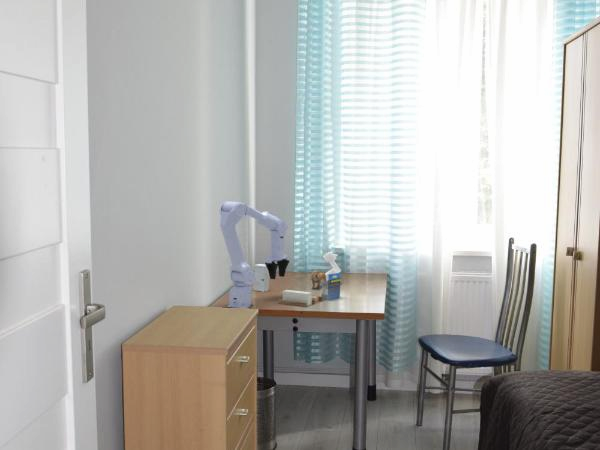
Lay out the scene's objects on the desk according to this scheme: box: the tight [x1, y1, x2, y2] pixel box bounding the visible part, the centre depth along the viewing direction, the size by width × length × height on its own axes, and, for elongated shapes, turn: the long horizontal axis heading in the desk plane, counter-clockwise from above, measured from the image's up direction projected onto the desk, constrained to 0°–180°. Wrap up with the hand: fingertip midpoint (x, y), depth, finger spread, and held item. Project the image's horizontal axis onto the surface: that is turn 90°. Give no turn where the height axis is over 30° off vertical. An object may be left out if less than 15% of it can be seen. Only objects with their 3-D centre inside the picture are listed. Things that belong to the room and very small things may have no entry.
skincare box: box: [253, 263, 270, 293], centre depth 335 cm, size 6×4×12 cm
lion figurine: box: [310, 270, 326, 290], centre depth 345 cm, size 15×5×9 cm, turn 160°
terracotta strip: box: [312, 295, 318, 302], centre depth 308 cm, size 3×11×2 cm, turn 61°
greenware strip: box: [282, 289, 313, 307], centre depth 301 cm, size 4×12×5 cm, turn 61°
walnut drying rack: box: [276, 295, 326, 308], centre depth 305 cm, size 17×14×3 cm
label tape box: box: [320, 272, 342, 301], centre depth 313 cm, size 9×4×12 cm, turn 141°
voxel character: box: [322, 251, 342, 283], centre depth 356 cm, size 7×12×15 cm
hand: (277, 277), depth 312 cm, fingers open, 7 cm apart
